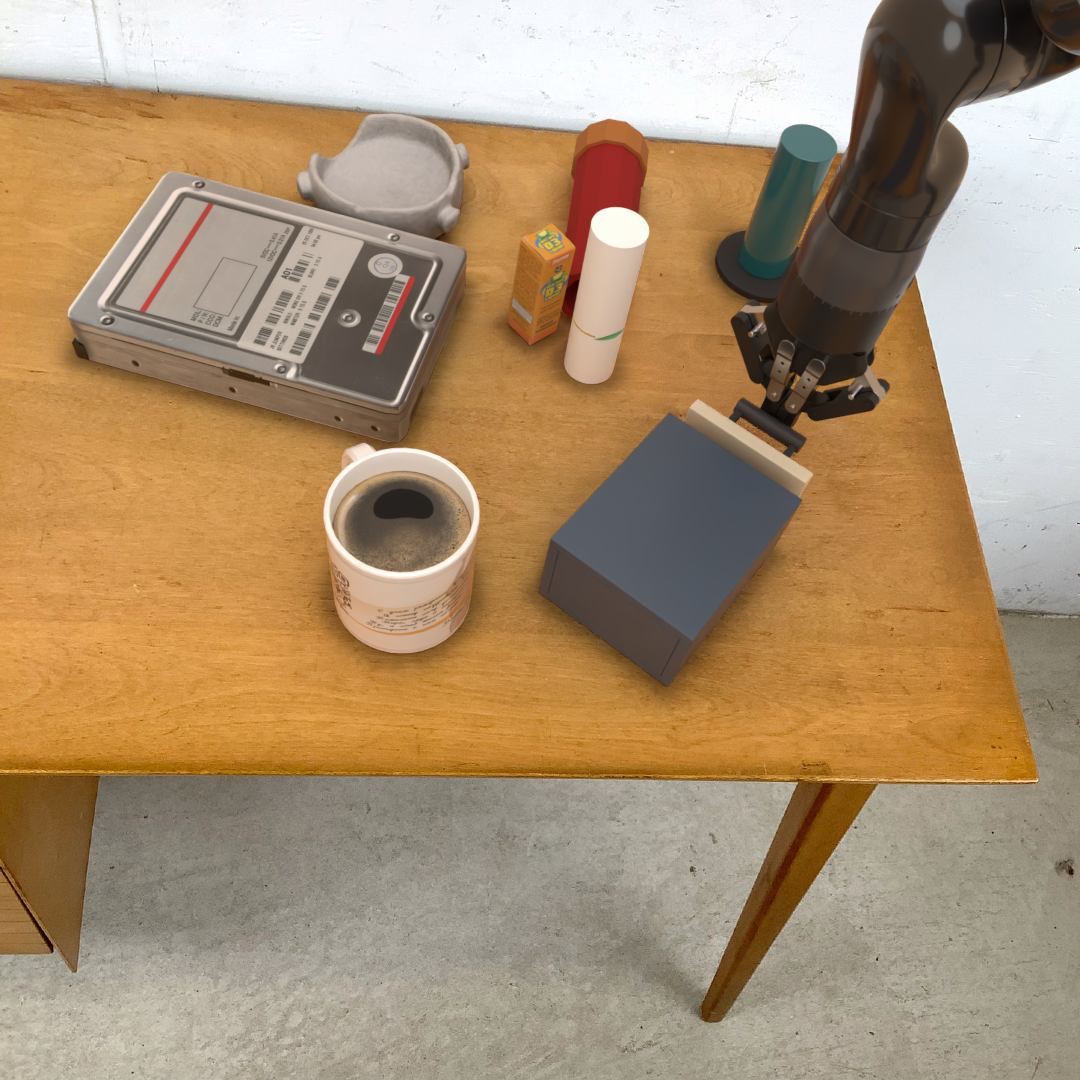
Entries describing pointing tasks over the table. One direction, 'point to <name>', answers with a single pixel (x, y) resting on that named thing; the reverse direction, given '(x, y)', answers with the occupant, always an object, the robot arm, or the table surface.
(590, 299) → the tube
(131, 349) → the hard drive
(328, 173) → the dish
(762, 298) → the coaster
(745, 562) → the cabinet
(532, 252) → the supplement box
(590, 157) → the shell casing
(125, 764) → the table surface
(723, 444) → the drawer
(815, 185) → the canister
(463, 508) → the mug
